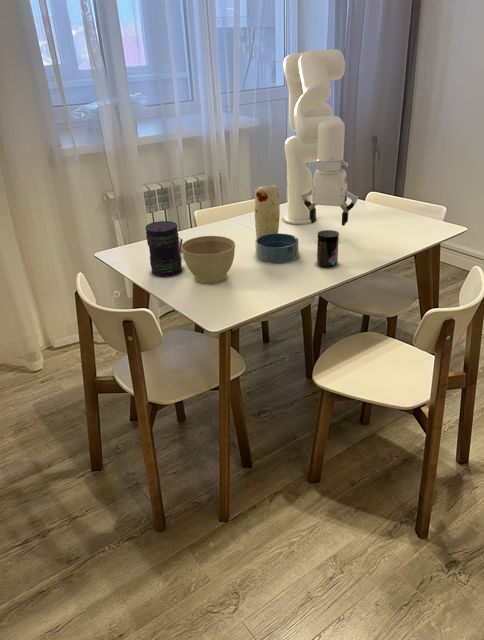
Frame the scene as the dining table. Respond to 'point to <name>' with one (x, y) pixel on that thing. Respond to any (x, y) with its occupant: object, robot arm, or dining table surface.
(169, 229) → the storage jar
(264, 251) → the basin
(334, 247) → the supplement container
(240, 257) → the dining table surface
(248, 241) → the dining table surface
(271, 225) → the food model
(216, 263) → the planter bowl
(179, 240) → the pink toy figurine
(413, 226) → the dining table surface
